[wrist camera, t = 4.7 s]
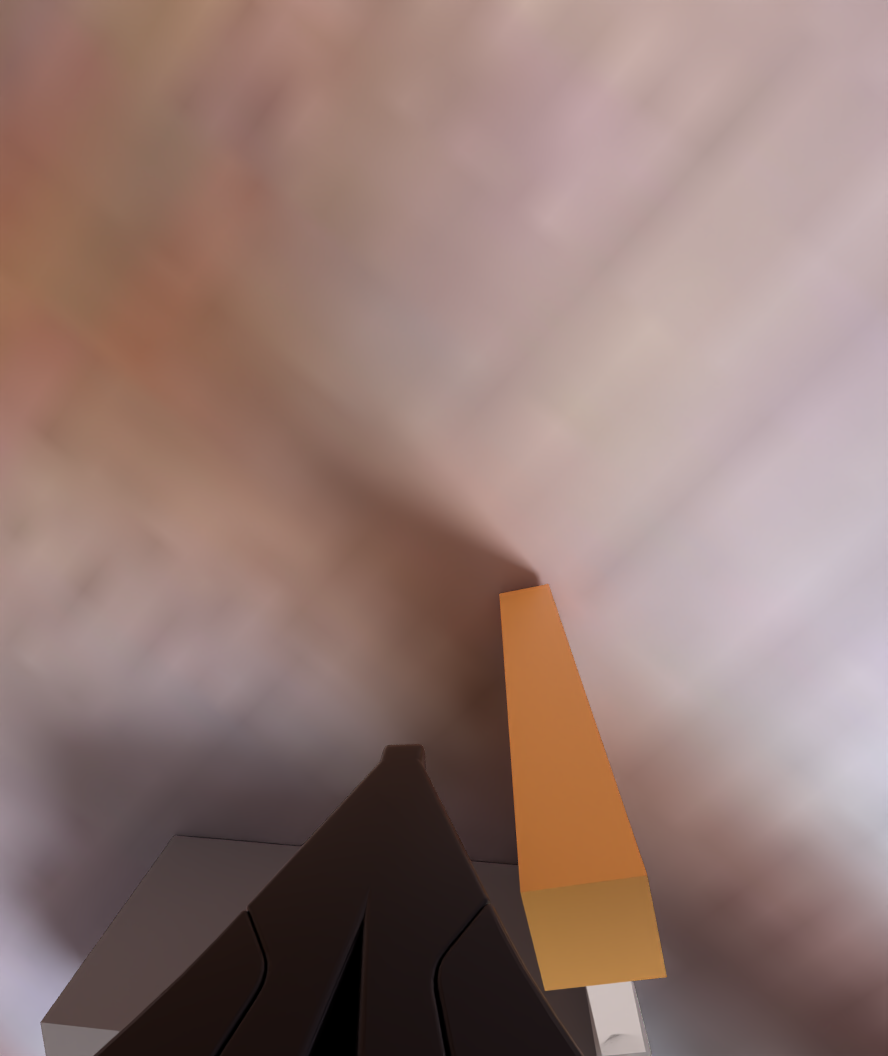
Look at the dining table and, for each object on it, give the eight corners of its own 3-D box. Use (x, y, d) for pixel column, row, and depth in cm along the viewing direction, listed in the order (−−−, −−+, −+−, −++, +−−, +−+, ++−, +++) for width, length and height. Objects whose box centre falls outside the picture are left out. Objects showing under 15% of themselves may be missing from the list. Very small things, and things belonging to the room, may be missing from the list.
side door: (606, 863, 15) (752, 1424, 7) (562, 870, 15) (653, 1426, 7) (548, 584, 13) (647, 875, 5) (499, 593, 14) (520, 893, 5)
